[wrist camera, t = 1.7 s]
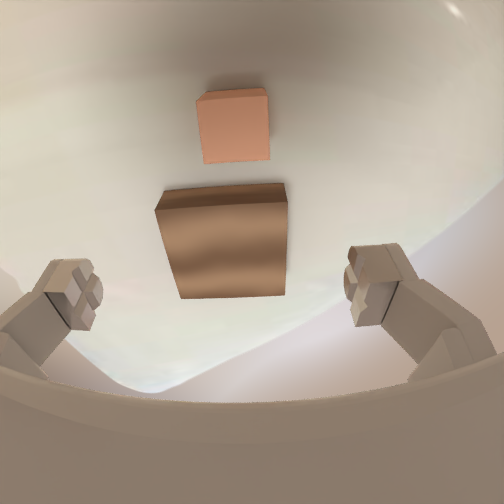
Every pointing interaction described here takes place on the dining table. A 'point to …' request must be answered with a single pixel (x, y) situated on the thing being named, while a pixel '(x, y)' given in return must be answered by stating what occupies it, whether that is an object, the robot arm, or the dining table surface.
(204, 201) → the walnut board
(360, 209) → the dining table surface
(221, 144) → the terracotta cube
